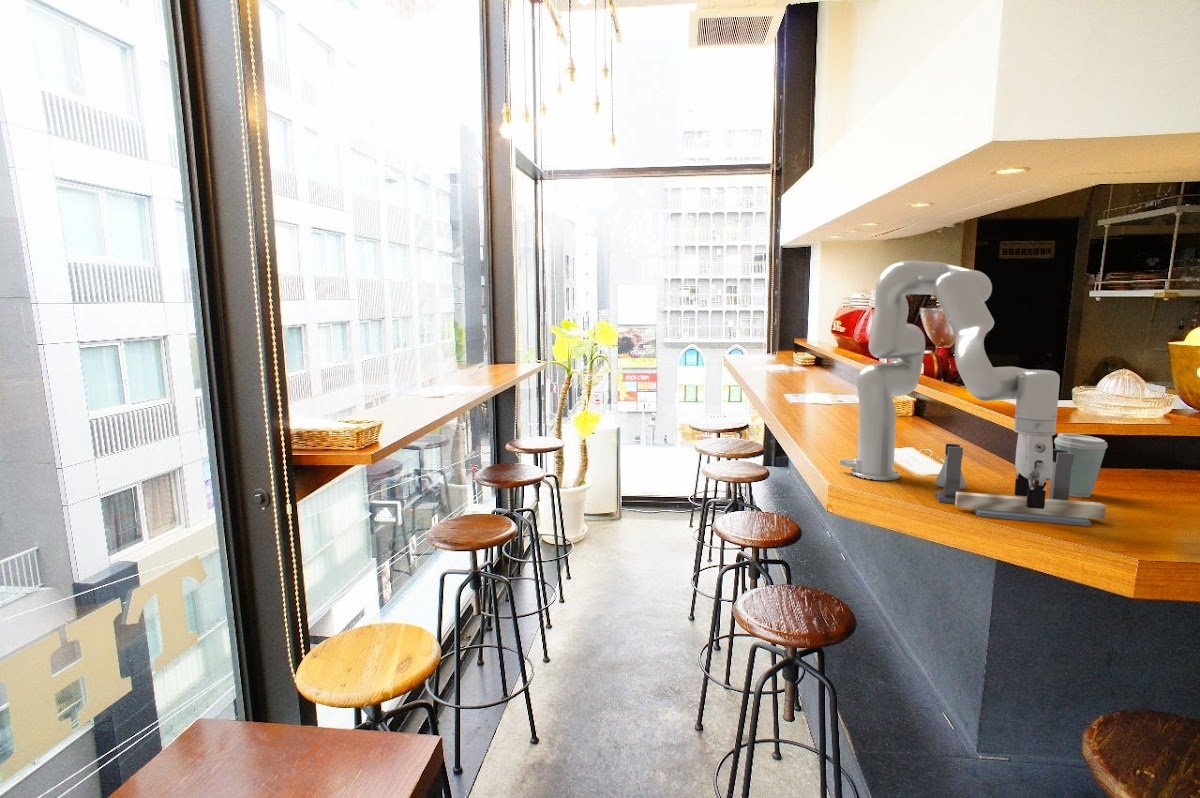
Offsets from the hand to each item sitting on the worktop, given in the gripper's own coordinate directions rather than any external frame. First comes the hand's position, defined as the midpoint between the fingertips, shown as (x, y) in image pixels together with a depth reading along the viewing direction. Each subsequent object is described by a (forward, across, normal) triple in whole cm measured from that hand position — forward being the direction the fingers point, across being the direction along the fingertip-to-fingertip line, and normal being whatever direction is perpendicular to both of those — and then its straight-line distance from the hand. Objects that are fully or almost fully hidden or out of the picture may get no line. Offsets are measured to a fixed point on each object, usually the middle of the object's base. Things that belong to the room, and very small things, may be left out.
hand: (1028, 501), depth 142 cm
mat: (+3, 0, 0) cm, 3 cm away
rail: (+2, 0, 0) cm, 2 cm away
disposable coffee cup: (+4, +24, -16) cm, 29 cm away
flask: (+4, +22, +12) cm, 26 cm away
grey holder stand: (+3, +8, +3) cm, 10 cm away
